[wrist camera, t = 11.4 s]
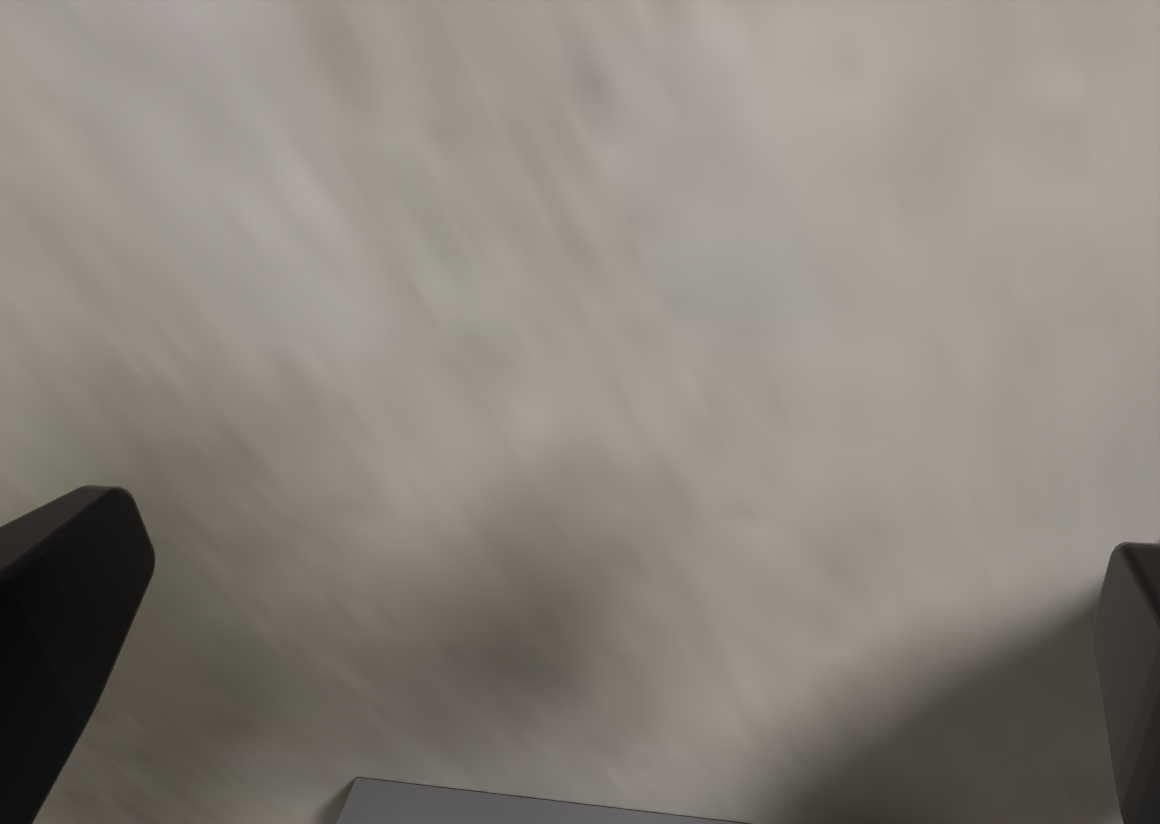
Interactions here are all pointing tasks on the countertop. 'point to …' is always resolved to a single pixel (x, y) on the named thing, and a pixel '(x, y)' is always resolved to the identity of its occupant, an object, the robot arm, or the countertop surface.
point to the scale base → (480, 808)
